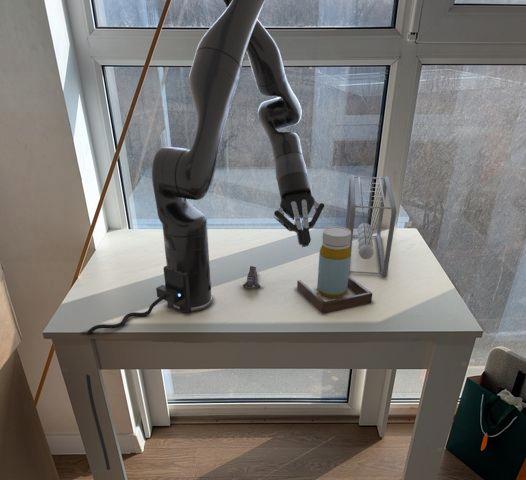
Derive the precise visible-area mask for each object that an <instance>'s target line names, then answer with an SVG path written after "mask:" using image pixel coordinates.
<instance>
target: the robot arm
mask: <svg viewBox="0 0 526 480" xmlns="http://www.w3.org/2000/svg"><path fill="white" fill-rule="evenodd" d="M222 1H223V4H224V6H225V8H226V9H225V10H224V11H223V13H222V14H221V15H220V16H219V17H218V18H217V20H216V21H215V22H214V23H213V24H212V25H211V26H210V27H209V29H208V30H207V31H206V32H205V34H204V35H203V36H202V38H201V39H200V41H199V43H198V45H197V47H196V50H195V54H194V56H193V57H194V58H193V61H192V65H191V68H190V72H189V76H188V86H189V91H190V96H191V100H192V103H193V106H194V110H195V114H196V121H197V123H196V130H195V136H194V140H193V143H192V146H191V147H190V148H184V147H177V146H162V147H160V148H159V149H158V150H157V151H156V152H155V154H154V156H153V159H152V163H151V182H152V188H153V194H154V200H155V201H154V202H155V207H156V212H157V217H158V220H159V221H160V223H161V226H162V235H163V242H164V243H163V244H164V253H165V262H166V265H165V266H163V277H164V284H161V285H159V286H156V287H155V289H156V297H157V299H156V300H154V301H153V302H152V303H151V304H150V305H149V306H148V307H149V308H148V309H147V310H146V311H144V312H129V313H127V314H126V315H124V316H123V318H122V320H121V321H120V322H118V323H116V324H96V325H93V326H92V327H90V328H89V329H88V330H87V332H86V335H91V334H92V333H94V331H96V330H99V329H118V328H121V327H123V326H124V325H125V324H126V322H127V320H128V319H129V318H131V317H147V316H149V315H150V314H151V313H152V311H153V309H154V308H155V307H156V306H157V305H158V304H159V303H161V302H162V301H163V300H164V301H166V303H167V306H168V307H169V308H173V309H174V310H177V311H180V312H182V313H185V314H190V313H192V312H197V311H201V310H205V309H207V308H209V307H210V306H211V305H212V302H213V296H212V286H213V285H212V281H211V268H210V267H211V266H210V252H209V251H210V249H209V235H208V234H209V233H208V232H209V231H208V230H209V229H208V218H207V215H206V214H205V213H204V212H203V211H202V210H200V209H199V208H197V207H195V205H193V204H192V202H191V201H200V200H203V199H204V198H205V197H206V196H207V195H208V193H209V191H210V189H211V187H212V184H213V181H214V177H215V173H216V168H217V163H218V158H219V153H220V148H221V143H222V138H223V134H224V129H225V126H226V122H227V118H228V115H229V111H230V107H231V105H232V101H233V99H234V95H235V92H236V89H237V87H238V82H239V79H240V76H241V72H242V69H243V65H244V60H245V57H246V54H247V57H248V60H249V64H250V67H251V70H252V75H253V78H254V81H255V84H256V87H257V91H258V92H259V93H260V95H262V96H265V97H275V98H272V99H268V100H265V101H262V102H261V103H260V105H259V107H258V108H257V117H258V121H259V123H260V125H261V127H262V128H263V130H264V132H265V134H266V136H267V138H268V141H269V143H270V146H271V150H272V156H273V160H274V161H273V162H274V169H275V178H276V181H277V186H278V192H279V197H280V203H279V208H278V209H277V210H275V211H274V212H273V218H274V219H275V220H276V221H277V222H278V223H279V224H280V225H282V226H283V227H284V228H285V229H286V230H287V231H289V232H295V233H296V237H297V242H298V245H299V246H301V248H305V247H309V245H310V244H311V242H312V241H311V240H312V238H311V234H310V229H313V228H314V227H315V225H316V223H317V222H318V220H319V218H320V216H321V214H322V212H323V210H324V208H325V204H324V203H323V202H321V203H320V202H318V201H316V199H315V197H314V196H313V194H312V191H311V184H310V180H309V174H308V170H307V165H306V162H305V158H304V155H303V150H302V144H301V140H300V136H298V134H297V133H295V132H293V131H279V130H283V129H287V128H288V127H293V126H295V125H297V124H299V122H300V121H301V119H302V115H303V111H302V106H301V104H300V101H299V99H298V98H297V96H296V94H295V93H294V91H293V90H292V88H291V85H290V84H289V81H288V79H287V76H286V72H285V67H284V63H283V59H282V56H281V51H280V49H279V47H278V45H277V43H276V41H275V39H274V38H273V37H272V35H270V33H269V32H268V31H267V29H266V28H265V27H264V25H263V24H262V23H261V21H260V20H259V19H258V18H259V16H260V14H261V11H262V9H263V6H264V4H265V2H266V0H222ZM190 200H191V201H190ZM312 208H313V212H314V214H313V216H312V218H311V220H310V221H309V215H310V213H311V211H312ZM285 214H286V215H287V216H288V217H289V218H290V219H291V220H292V221H291V220H289V219H288V218H287V217H286V216H285ZM85 379H86V386H87V392H88V399H89V402H90V407H91V411H92V417H93V419H94V423H95V426H96V430H97V434H98V438H99V441H100V445H101V449H102V453H103V457H104V461H105V466H106V467H105V468H106V470H107V471H109V470H111V465H110V461H109V456H108V452H107V447H106V444H105V439H104V435H103V432H102V428H101V425H100V421H99V417H98V413H97V409H96V405H95V400H94V393H93V390H92V389H93V388H92V383H91V376H90V375H89V374H87V373H85Z"/></svg>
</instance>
